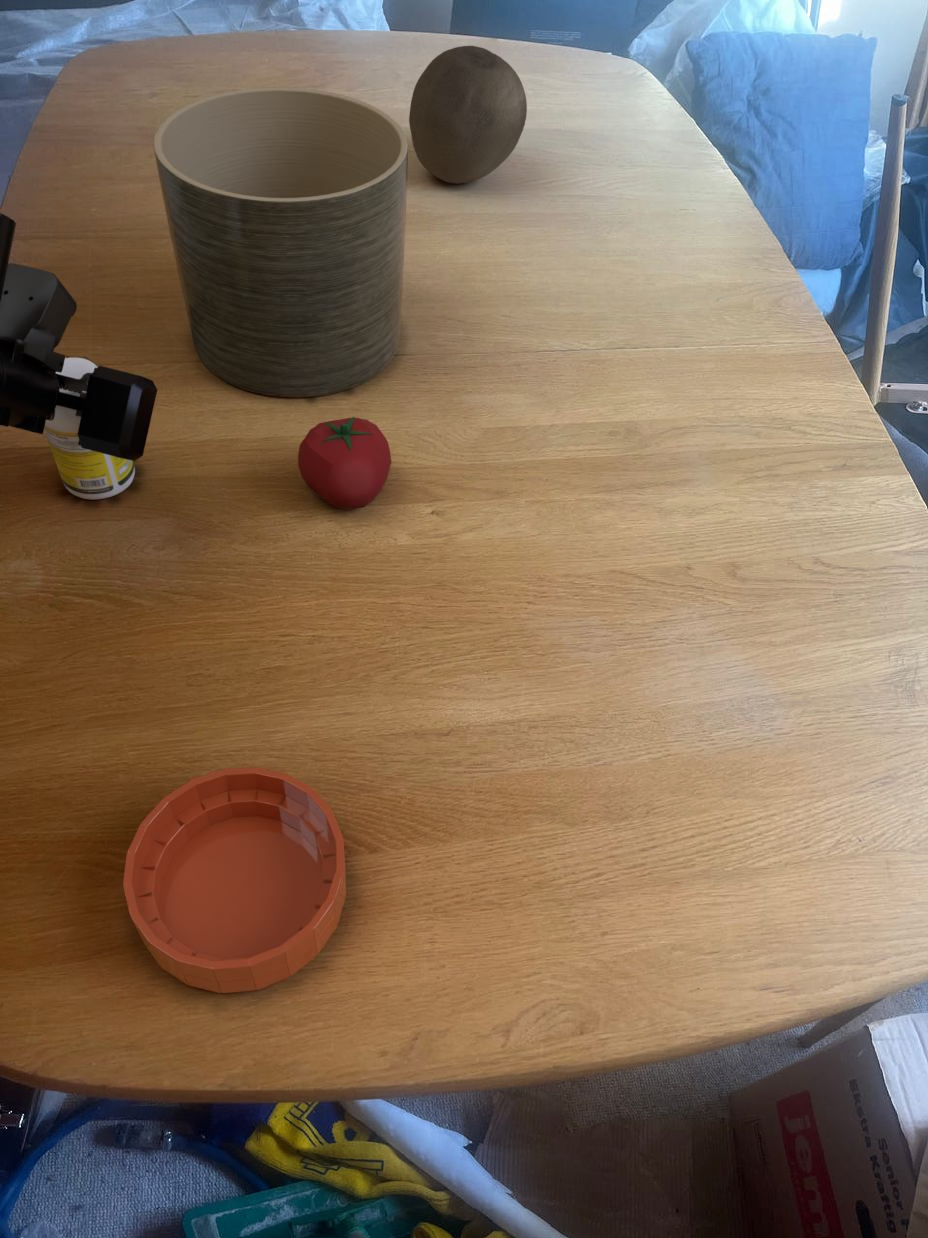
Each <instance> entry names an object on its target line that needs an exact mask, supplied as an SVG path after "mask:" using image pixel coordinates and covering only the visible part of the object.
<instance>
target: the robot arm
mask: <svg viewBox="0 0 928 1238" xmlns="http://www.w3.org/2000/svg"><path fill="white" fill-rule="evenodd" d="M16 226H17V222H16V221H15V220H14V219H12V218H11V217H9V216H7V215H5V214H3V213H1V212H0V426H2V427H7V428H8V427H12V428H16V429H19V430H23V431H26V432H27V431H28V432H31V433H35V434H38V435H44V432H45V431H44V427H45V422H46V420H49V421H52V420H53V419H54V416H55V408H56V406H57V405H58V406H62V407H65V408H69V409H73V410H77V411H76V417H80V418H81V420H80V424H79V429H78V438H79V442H78V445H81V447H82V448H84V449H88V450H92V451H96V452H100V453H103V454H107V455H111V456H115V457H119V458H122V459H127V460H132V461H133V462H135V461H137V460H138V459H140V458H142V457H143V456H144V453H145V448H146V444H147V439H148V434H149V430H150V426H151V422H152V417H153V411H154V407H155V402H156V398H157V394H158V388H157V386H156V384H155V382H154V381H153V380H152V379H150V378H147V377H145V376H142V375H139V374H136V373H131V372H127V371H123V370H119V369H115V368H111V367H106V366H103V365H98V366H96V367H97V368H94V372H93V373H86V374H84V375H83V376H82V377H81V379H75V378H71V377H67V376H63V375H59V374H56V372H60V373H61V372H62V370H63V365H64V361H65V358H66V355H65V354H62V353H59V352H56V351H55V349H56V348H57V347H58V346H59V344H60V343H61V340H62V338H63V336H64V334H65V331H66V329H67V327H68V325H69V323H70V321H71V318H72V317H74V316H75V314H76V312H77V307H78V305H77V301H76V300H75V299H74V297H73V296H72V295H71V294H70V292H69V290H67V288H66V286H65V285H64V284H63V283H62V282H61V280H60V279H59V278H58V276H57V275H56V274H55V273H53V272H51V271H48V270H42V269H39V268H35V267H30V266H27V265H22V264H18V263H13V262H10V256H11V251H12V246H13V243H14V236H15V233H16V232H15V231H16ZM62 388H63V390H67V389H68V391H72V392H75V393H76V392H77V393H79V394H80V397H78V396H74V395H70V394H66V393H63V392H59V389H62ZM82 391H85V392H86V393H85V392H82Z"/></svg>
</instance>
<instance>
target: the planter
mask: <svg viewBox="0 0 928 1238" xmlns="http://www.w3.org/2000/svg"><path fill="white" fill-rule="evenodd" d="M152 143H153V144H152V145H153V151H154V152H153V153H154V157H155V162H156V163H155V164H156V168H157V173H158V179H159V184H160V189H161V195H162V199H163V205H164V210H165V215H166V220H167V225H168V230H169V236H170V240H171V245H172V250H173V255H174V259H175V264H176V270H177V273H178V278H179V282H180V288H181V292H182V296H183V301H184V306H185V310H186V315H187V319H188V324H189V329H190V334H191V338H192V339H191V340H192V342H193V343H192V344H193V346H194V350H195V352H196V354H197V356H198V359H200V361H201V363H202V364H203V365H204V366H205V367H206V368H207V369H208V370H209V371H210V372H211V373H212V374H213V375H215V377H218V378H219V379H221V380H222V381H224V382H226V383H228V384H230V385H232V386H234V387H236V388H239V389H242V390H245V391H248V392H251V393H256V394H259V395H264V396H270V397H278V398H313V397H321V396H326V395H332V394H336V393H339V392H343V391H347V390H349V389H352V388H355V387H357V386H360V385H362V384H363V383H366V382H368V381H369V380H371V379H372V378H374V377H376V376H377V375H378V374H380V373H381V372H382V371H383V370H384V369H385V368H386V367H387V366H388V365H389V364H390V363H391V361H392V360H393V359H394V356H395V355H396V354H397V351H398V348H399V345H400V339H401V324H402V323H401V322H402V304H403V303H402V302H403V301H402V300H403V285H404V268H405V266H404V265H405V250H406V249H405V248H406V226H407V225H406V224H407V223H406V222H407V197H408V194H407V193H408V166H409V165H408V164H409V162H408V161H409V142H408V138H407V135H406V133H405V131H404V130H403V128H402V127H401V125H400V124H399V123H398V122H397V121H396V120H395V119H394V118H393V117H392V116H390V115H388V114H387V113H386V112H384V111H383V110H381V109H379V108H378V107H376V106H373V105H371V104H370V103H367V102H364V101H362V100H360V99H356V98H354V97H350V96H347V95H345V94H339V93H336V92H331V91H327V90H321V89H313V88H305V87H290V86H264V87H263V86H261V87H250V88H241V89H235V90H229V91H224V92H219V93H215V94H212V95H208V96H205V97H201V98H199V99H196V100H194V101H192V102H190V103H187V104H184V105H183V106H181V107H180V108H178V109H176V110H175V111H173V112H172V113H171V114H169V115H168V116H166V117H165V119H163V121H162V122H160V124H159V126H158V127H157V129H156V131H155V133H154V135H153V142H152Z"/></svg>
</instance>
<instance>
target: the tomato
mask: <svg viewBox="0 0 928 1238" xmlns="http://www.w3.org/2000/svg"><path fill="white" fill-rule="evenodd" d="M391 465H392V456H391V449H390V445H389V441H388V439H387V438H386V436H385V434H384V433H383V432H382V430H381V429H380V427H379V426H378V425H377V424H376V423H374V422H372V421H370V420H368V419H364V418H360V417H355V416H352V417H346V418H340V419H335V420H334V419H333V420H329V421H322V422H319V423H317V425H315V426H314V427H312V428H311V429H309V431H308V432H307V434H306V435H305V437H304V438H303V440H302V441H301V443H300V444H299V448H298V452H297V466H298V469H299V470H298V471H299V472H300V477H301V478H302V479H303V482H304V484H305V485H306V487H307V488H308V489H310V491H311V492H312V493H313V494H315V495H317V496H318V497H319V498H321V499H322V500H324V501H325V502H326V503H328V504H330V505H331V506H333V508H338V509H345V510H357V509H361V508H365V507H366V506H367V505H369V504H370V503H372V502H373V501H374V500H375V499H376V498H377V497H378V495H380V492H381V491H382V489H383V487H384V486H385V483H386V481H387V479H388V477H389V472H390V469H391Z"/></svg>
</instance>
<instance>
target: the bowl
mask: <svg viewBox="0 0 928 1238" xmlns="http://www.w3.org/2000/svg"><path fill="white" fill-rule="evenodd" d="M345 853H346V852H345V840H344V836H343V833H342V831H341V829H340V826H339V822H338V821H337V818H336V815H335V813H334V811H333V809H332V808H331V807H330V806H329V805H328V804H327V803H326V801H325V800H324V799H323V798H322V797H321V796H320V795H319V794H318V792H317V791H316V790H315V789H314V788H312V787H311V786H309V785H308V784H306V783H304V782H302V781H300V780H299V779H297V778H295V777H293V776H292V775H290V774H288V773H285V772H281V771H276V770H272V769H267V768H262V767H257V766H250V767H248V766H247V767H233V768H232V767H231V768H222V769H219V770H216V771H213V772H210V773H207V774H204V775H201V776H198V777H195V778H192V779H190V780H188V781H187V782H186V783H184V784H183V785H180V786H179V787H178V788H176V789H174V790H173V791H171V792H170V793H168V794H167V795H165V796H164V797H163V798H162V799H160V801H159V802H157V805H155V807H154V808H153V809H152V810H151V811H150V812H149V813H148V814H147V816H145V818H144V819H142V821H141V822H140V825H139V826H138V828H137V830H136V833H135V835H134V837H133V839H132V841H131V843H130V845H129V847H128V849H127V851H126V855H125V862H124V870H123V871H124V872H123V879H122V889H123V892H124V898H125V901H126V905H127V909H128V914H129V916H130V919H131V921H132V923H133V925H134V927H135V929H136V931H137V933H138V935H139V937H140V939H141V940H142V942H143V944H144V946H145V948H147V950H148V952H150V954H151V956H152V957H153V959H154V960H155V962H157V964H158V965H159V967H160V968H161V969H162V970H164V971H166V972H167V973H168V974H169V975H171V976H173V977H175V978H176V979H178V980H179V981H180V982H181V983H183V984H185V985H187V986H189V987H194V988H197V989H201V990H206V991H209V992H214V993H218V994H221V993H222V994H228V993H239V992H240V993H241V992H251V991H259V990H261V989H263V988H266V987H268V986H271V985H274V984H276V983H278V982H280V981H284V980H287V979H288V978H290V977H292V976H293V975H294V974H296V973H297V972H298V971H299V970H300V969H302V968H304V966H305V965H307V964H308V963H309V962H310V961H312V960H313V959H314V958H316V957H317V956H318V955H319V954H320V952H321V951H322V949H323V948H324V946H325V945H326V944H327V942H328V941H329V939H330V938H331V936H332V935H333V933H335V931H336V929H337V927H338V925H339V921H340V919H341V915H342V912H343V908H344V905H345V901H346V898H347V876H346V875H347V873H346V871H347V870H346V855H345Z"/></svg>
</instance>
